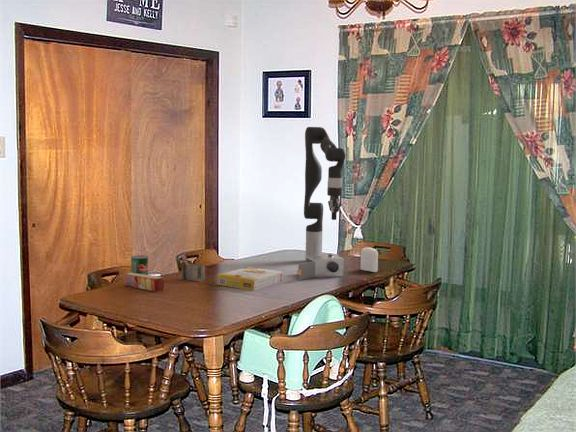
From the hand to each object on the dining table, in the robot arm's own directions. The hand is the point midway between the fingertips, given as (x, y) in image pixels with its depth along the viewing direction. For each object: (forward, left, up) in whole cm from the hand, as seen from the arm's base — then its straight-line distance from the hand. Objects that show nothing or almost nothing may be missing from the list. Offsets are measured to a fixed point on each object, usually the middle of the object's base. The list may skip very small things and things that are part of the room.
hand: (333, 219), depth 373 cm
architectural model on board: (+9, -75, -28) cm, 81 cm away
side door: (+19, -21, -27) cm, 39 cm away
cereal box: (+22, -50, -28) cm, 62 cm away
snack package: (+24, -101, -28) cm, 107 cm away
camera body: (+9, -8, -27) cm, 30 cm away
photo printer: (+4, +19, -27) cm, 33 cm away
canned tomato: (+2, -100, -27) cm, 104 cm away
